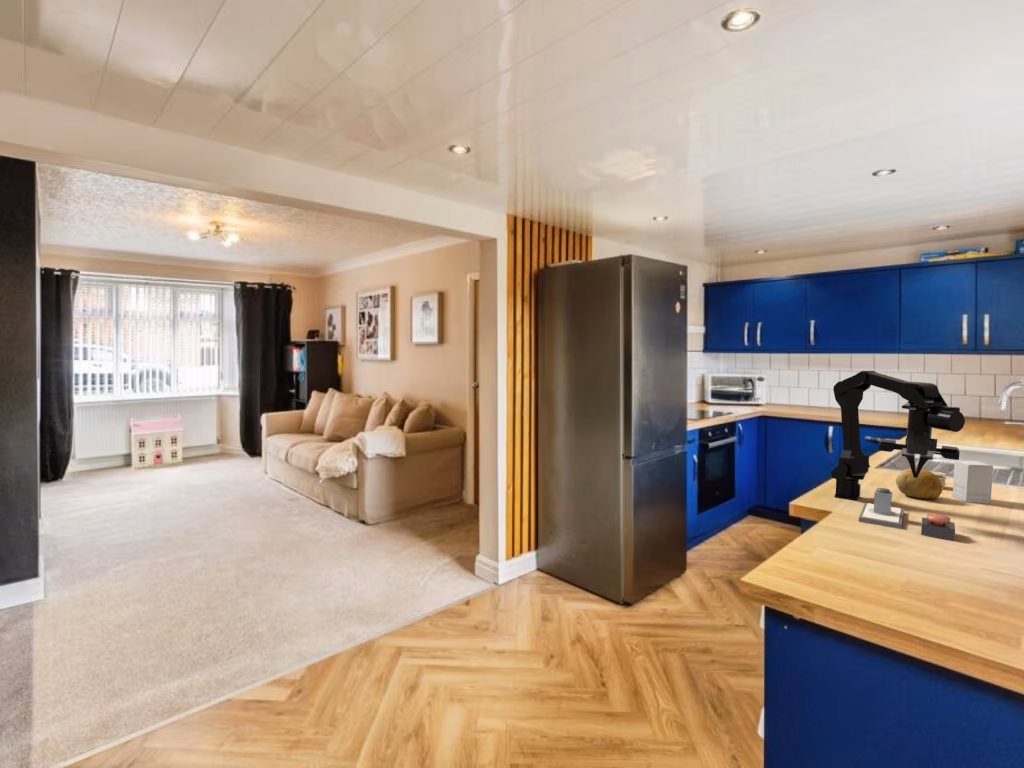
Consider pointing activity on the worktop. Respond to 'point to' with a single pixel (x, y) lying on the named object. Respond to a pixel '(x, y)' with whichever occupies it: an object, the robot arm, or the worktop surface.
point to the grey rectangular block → (882, 501)
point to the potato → (919, 484)
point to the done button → (938, 519)
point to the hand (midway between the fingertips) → (915, 477)
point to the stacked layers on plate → (940, 478)
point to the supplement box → (972, 481)
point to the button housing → (938, 530)
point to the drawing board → (882, 516)
